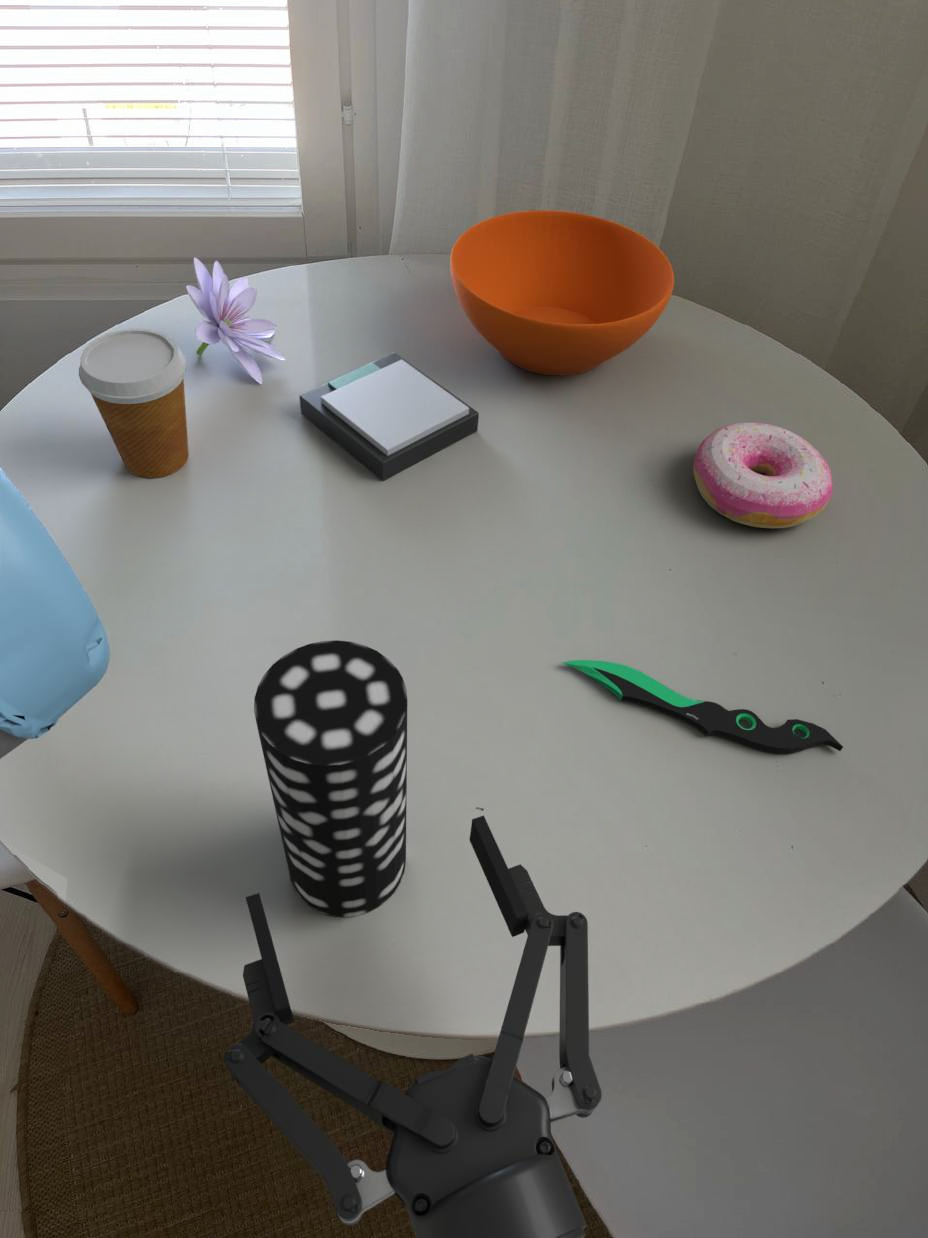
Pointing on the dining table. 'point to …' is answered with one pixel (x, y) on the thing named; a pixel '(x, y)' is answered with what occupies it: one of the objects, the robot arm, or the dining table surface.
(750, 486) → the donut
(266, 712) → the white-spotted black cylinder
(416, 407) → the scale
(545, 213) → the bowl
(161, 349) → the disposable coffee cup
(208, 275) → the water lily
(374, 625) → the dining table surface
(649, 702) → the knife
